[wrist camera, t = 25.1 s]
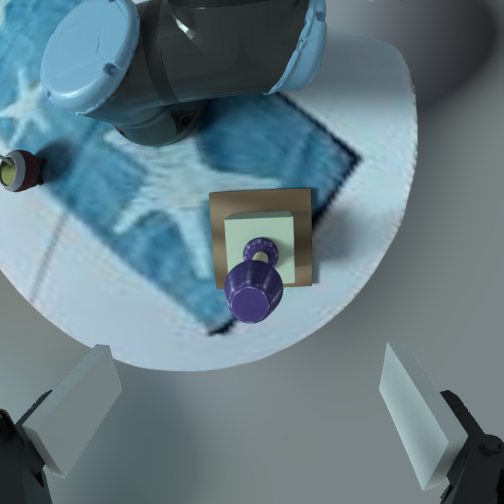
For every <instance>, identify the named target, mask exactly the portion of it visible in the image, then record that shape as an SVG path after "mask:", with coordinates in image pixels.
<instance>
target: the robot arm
mask: <svg viewBox="0 0 504 504" xmlns="http://www.w3.org/2000/svg"><path fill="white" fill-rule="evenodd" d="M325 17H326V1H325V0H148V1H145V2H141V3H138V4H134V3H133V1H132V0H86V1H85V2H83V3H81V4H80V5H78V6H77V7H76V8H74V9H73V10H72V11H71V12H70V13H69V14H68V15H67V16H66V17H65V18H64V19H63V20H62V21H61V22H60V24H59V25H58V27H57V29H56V30H55V32H54V33H53V34H52V36H51V37H50V39H49V41H48V43H47V46H46V48H45V51H44V54H43V58H42V63H41V83H42V87H43V90H44V92H45V94H46V96H47V97H48V98H49V100H50V101H51V102H52V103H53V104H55V105H56V106H58V107H60V108H62V109H64V110H66V111H68V112H69V113H72V114H74V115H75V114H76V115H83V116H87V117H91V118H95V119H98V120H102V121H105V122H109V123H112V124H113V125H114V126H115V128H116V129H117V131H118V132H119V133H120V134H121V135H122V136H123V137H125V138H126V139H128V140H129V141H131V142H133V143H136V144H140V145H144V146H149V147H159V146H165V145H169V144H172V143H174V142H177V141H179V140H180V139H182V138H184V137H185V136H186V135H188V134H189V133H190V132H191V131H192V130H193V129H194V128H195V127H196V126H197V125H198V123H199V122H200V120H201V119H202V117H203V115H204V113H205V111H206V108H207V105H208V100H209V99H211V98H219V97H228V96H237V95H247V94H259V93H261V94H263V95H269V94H272V93H274V92H279V91H290V90H299V89H301V88H303V87H305V86H306V85H308V84H310V83H311V82H312V80H313V79H314V78H315V76H316V74H317V72H318V70H319V67H320V64H321V61H322V57H323V53H324V47H325V41H326V31H327V24H326V23H325ZM379 390H380V392H381V394H382V396H383V399H384V401H385V403H386V405H387V408H388V410H389V412H390V414H391V416H392V419H393V421H394V423H395V426H396V428H397V430H398V432H399V434H400V437H401V439H402V442H403V444H404V446H405V449H406V451H407V453H408V456H409V458H410V460H411V463H412V465H413V468H414V470H415V473H416V475H417V477H418V480H419V483H420V485H421V488H422V490H423V491H424V490H427V489H430V488H433V487H437V486H440V485H441V484H442V483H443V481H444V479H445V477H446V476H447V477H448V480H449V482H450V484H449V486H448V487H447V488H446V490H445V492H444V493H443V494H442V496H441V497H440V498H441V499H442V500H441V503H440V504H504V442H502V440H501V439H500V438H498V437H497V436H493V435H487V434H484V432H483V431H482V429H481V428H480V426H479V425H478V423H477V422H476V421H475V419H474V418H473V416H472V415H471V414H470V412H468V409H467V408H466V407H465V406H464V404H463V403H462V401H461V400H460V398H459V397H458V396H457V395H455V394H454V393H452V392H451V391H449V390H446V391H442V392H439V391H438V390H437V388H436V387H435V385H434V384H433V382H432V381H431V379H430V378H429V377H428V375H427V374H426V372H425V371H424V370H423V368H422V367H421V365H420V364H419V363H418V361H417V360H416V359H415V357H414V356H413V355H412V353H411V352H410V350H409V349H408V348H407V346H406V345H405V343H404V342H403V341H402V340H400V341H391V342H387V346H386V353H385V360H384V365H383V371H382V376H381V382H380V387H379ZM121 391H122V388H121V385H120V381H119V378H118V375H117V372H116V368H115V365H114V361H113V357H112V354H111V350H110V346H109V345H99V344H96V345H95V347H94V348H93V349H92V350H91V351H90V352H89V353H88V354H87V355H86V356H85V357H84V358H83V359H82V360H81V361H80V362H79V363H78V364H77V365H76V366H75V368H73V370H72V371H71V372H70V373H69V374H68V375H67V376H66V377H65V378H64V379H63V380H62V381H61V382H60V383H59V384H58V386H57V387H56V388H55V389H54V390H50V391H48V392H46V393H45V394H43V395H42V396H41V397H40V398H39V399H38V400H37V401H36V403H34V404H33V406H31V409H29V410H28V411H27V412H26V413H25V414H24V415H23V416H22V417H21V419H20V420H19V421H18V422H17V423H16V424H15V425H14V423H13V421H12V419H11V418H10V416H9V414H8V413H7V412H6V410H3V409H0V504H52V501H51V497H50V493H49V489H48V484H47V480H46V475H45V473H44V471H43V469H42V468H43V466H44V465H45V464H46V465H47V467H48V468H49V470H50V471H51V473H53V474H55V475H58V476H61V477H63V478H66V477H67V476H68V474H69V472H70V471H71V469H72V468H73V466H74V464H75V463H76V461H77V459H78V458H79V456H80V455H81V453H82V451H83V450H84V448H85V447H86V445H87V444H88V442H89V440H90V439H91V437H92V436H93V434H94V433H95V431H96V429H97V428H98V426H99V425H100V423H101V421H102V420H103V418H104V417H105V415H106V414H107V412H108V411H109V409H110V408H111V406H112V405H113V403H114V402H115V400H116V398H117V397H118V395H119V394H120V392H121Z"/></svg>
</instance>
